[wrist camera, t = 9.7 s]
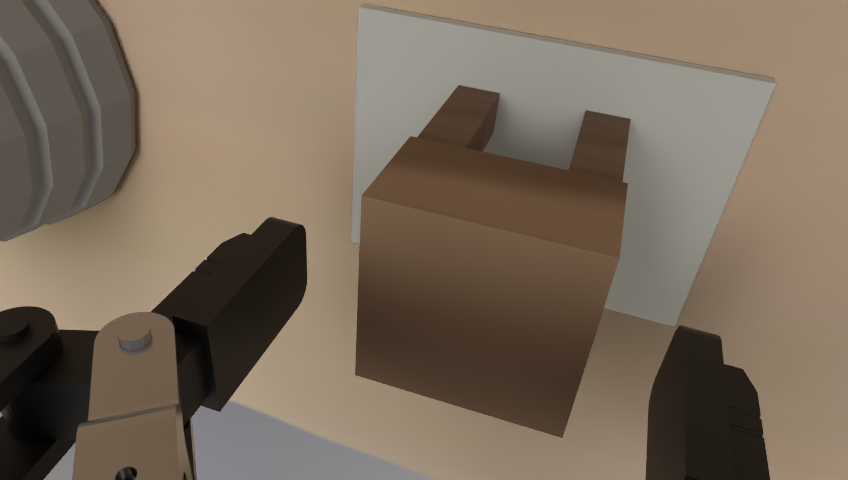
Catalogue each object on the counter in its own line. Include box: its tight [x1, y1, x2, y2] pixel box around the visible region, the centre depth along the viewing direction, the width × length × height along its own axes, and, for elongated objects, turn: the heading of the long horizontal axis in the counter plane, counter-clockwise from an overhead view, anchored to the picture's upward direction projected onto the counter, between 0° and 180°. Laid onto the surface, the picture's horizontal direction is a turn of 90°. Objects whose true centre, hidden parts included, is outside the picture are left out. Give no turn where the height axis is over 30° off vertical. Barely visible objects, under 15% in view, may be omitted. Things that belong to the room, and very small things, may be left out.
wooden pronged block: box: [355, 85, 630, 438], centre depth 16 cm, size 5×5×7 cm
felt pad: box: [351, 4, 776, 327], centre depth 19 cm, size 8×11×1 cm
